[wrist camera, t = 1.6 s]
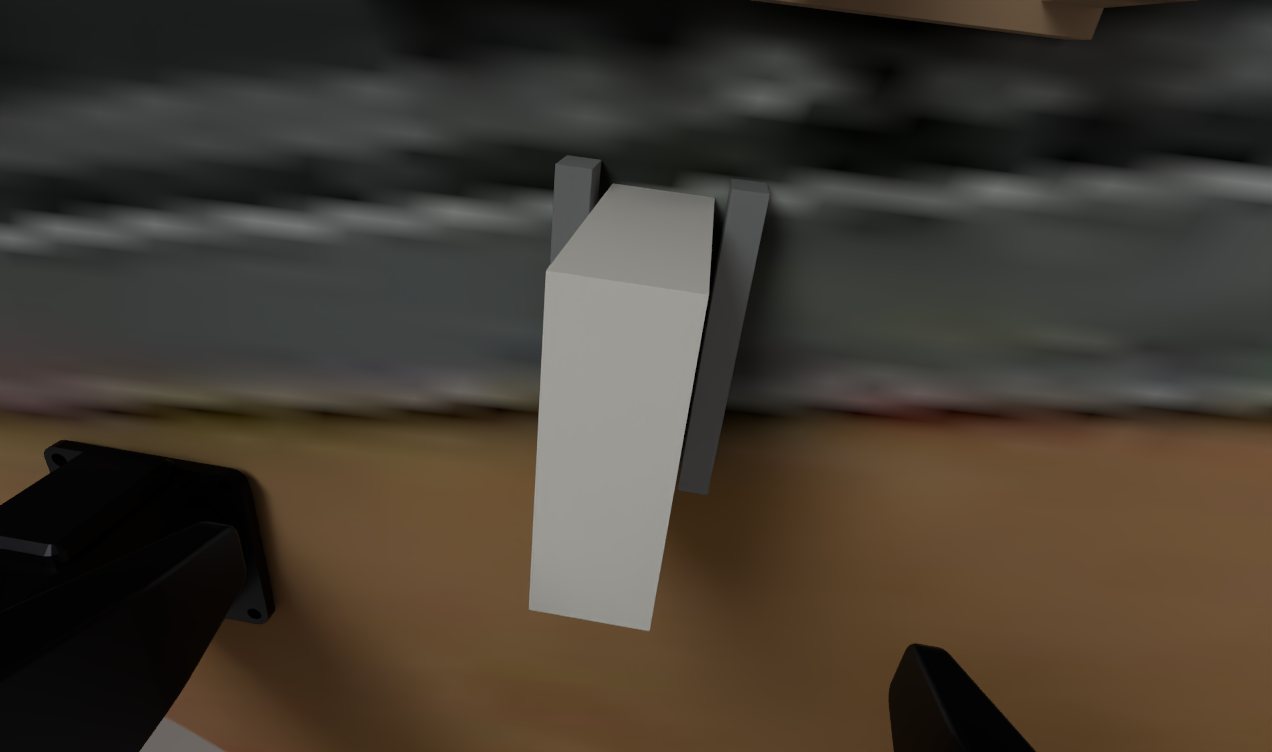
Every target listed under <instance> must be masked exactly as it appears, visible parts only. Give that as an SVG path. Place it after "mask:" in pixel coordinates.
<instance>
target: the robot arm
mask: <svg viewBox="0 0 1272 752" xmlns="http://www.w3.org/2000/svg"><path fill="white" fill-rule="evenodd" d="M44 457H45V460H46V463H47V465H48V468H49V471H50V474H48V475H47V476H45V477H43V478H42V479H40V480H39V481H37V482H36V483H34V484H33V485H31V486H30V487H28V488H26V489H25V490H23V491H22V492H20V493H19V494H17V495H16V496H14V497H13V498H11V499H9V500H8V501H6V502H5V503H3V504H2V505H0V752H139V751H140V750H141V749H142V747H143V746H144V744H145V743H146V742H147V740H148V739H149V737H150V736H151V735H152V733H153V732H154V730H155V729H156V727H157V726H158V725H159V723H160V722H161V721H162V719H163V718H164V716H165V715H166V714H167V712H168V711H169V709H170V708H171V706H172V705H173V703H174V702H175V700H176V699H177V697H178V696H179V695H180V693H181V691H182V690H183V688H184V687H185V685H186V683H187V682H188V680H189V678H190V677H191V675H192V673H193V672H194V670H195V668H196V667H197V665H198V663H199V661H200V660H201V658H202V656H203V655H204V653H205V651H206V649H207V648H208V646H209V644H210V643H211V641H212V639H213V637H214V636H215V634H216V632H217V631H218V629H219V627H220V625H221V624H222V622H223V620H224V619H225V618H227V619H233V620H238V621H243V622H249V623H254V624H263V623H266V622H267V620H268V619H269V618H270V617H271V615H272V614H273V613H274V612H275V605H274V600H273V596H272V591H271V586H270V581H269V576H268V571H267V566H266V561H265V557H264V552H263V547H262V542H261V537H260V532H259V527H258V522H257V518H256V513H255V508H254V503H253V498H252V493H251V488H250V484H249V481H248V479H247V478H246V477H245V475H244V474H242V473H241V472H239V471H238V470H235V469H232V468H226V467H220V466H215V465H209V464H203V463H197V462H191V461H185V460H179V459H173V458H168V457H162V456H156V455H150V454H144V453H138V452H132V451H127V450H121V449H115V448H109V447H103V446H97V445H91V444H85V443H80V442H74V441H68V440H60V441H58V442H57V443H55V444H53V445H52V446H50V447H48V448H47V449H45V451H44ZM889 711H890V721H891V730H892V739H893V749H894V752H1036V751H1035V750H1034V749H1033V748H1032V747H1031V745H1030V744H1029V743H1028V742H1027V741H1026V740H1025V739H1024V738H1023V736H1022V735H1021V734H1020V733H1019V732H1018V731H1017V730H1016V729H1015V727H1014V726H1013V725H1012V724H1011V723H1010V722H1009V721H1008V719H1007V718H1006V717H1005V716H1004V715H1003V714H1002V713H1001V712H1000V710H999V709H998V708H997V707H996V706H995V705H994V704H993V703H992V701H991V700H990V699H989V698H988V697H987V696H986V695H985V694H984V692H983V691H982V690H981V689H980V688H979V687H978V686H977V685H976V683H975V682H974V681H973V680H972V679H971V678H970V677H969V676H968V674H967V673H966V672H965V671H964V670H963V669H962V668H961V667H960V665H959V664H958V663H957V662H956V661H955V660H954V659H953V657H952V656H951V655H950V654H949V653H948V652H946V651H945V650H944V649H942V648H939V647H934V646H928V645H922V644H916V643H915V644H911V645H909V646H908V647H907V649H906V650H905V653H904V655H903V657H902V659H901V661H900V664H899V666H898V668H897V670H896V673H895V675H894V677H893V679H892V682H891V684H890V688H889Z"/></svg>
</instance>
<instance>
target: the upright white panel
mask: <svg viewBox="0 0 1272 752" xmlns="http://www.w3.org/2000/svg"><path fill="white" fill-rule="evenodd" d="M714 201H715V198H711V197H704V196H697V195H690V194H683V193H676V192H669V191H662V190H655V189H648V188H641V187H634V186H627V185H620V184H612V185H611V186H610V188H609V189H608V190H607V192H606V193H605V194H604V195H603V197H602V198H601V199H600V201H599V202H598V203H597V205H596V206H595V207H594V209H593V210H592V211H591V212H590V214H589V215H588V216H587V218H586V219H585V220H584V222H583V223H582V224H581V226H580V227H579V228H578V229H577V231H576V232H575V233H574V235H573V236H572V237H571V239H570V240H569V241H568V243H567V244H566V245H565V246H564V248H563V249H562V250H561V252H560V253H559V254H558V256H557V257H556V258H555V260H554V261H553V262H552V263H551V265H550V266H549V267H548V269H547V270H546V282H545V302H544V321H543V341H542V361H541V380H540V400H539V420H538V439H537V459H536V479H535V498H534V518H533V538H532V557H531V577H530V597H529V610H534V611H539V612H545V613H551V614H556V615H562V616H567V617H573V618H579V619H584V620H590V621H596V622H601V623H607V624H612V625H618V626H624V627H629V628H635V629H640V630H646V631H650V625H651V620H652V614H653V608H654V603H655V597H656V591H657V586H658V580H659V574H660V569H661V563H662V557H663V552H664V546H665V540H666V535H667V529H668V523H669V518H670V512H671V507H672V501H673V495H674V490H675V484H676V478H677V473H678V467H679V461H680V456H681V450H682V444H683V439H684V433H685V427H686V422H687V416H688V410H689V405H690V399H691V393H692V388H693V382H694V376H695V371H696V365H697V359H698V354H699V348H700V342H701V337H702V331H703V325H704V320H705V314H706V308H707V303H708V297H709V284H710V268H711V251H712V235H713V218H714Z"/></svg>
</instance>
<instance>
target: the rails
mask: <svg viewBox="0 0 1272 752" xmlns="http://www.w3.org/2000/svg"><path fill="white" fill-rule="evenodd" d="M600 172H601V160H598V159H591V158H584V157H576V156H569V155H567V156H566V157H564V158H563V159H562V160H560V161H559V162H558V163H556V164H555V182H554V201H553V219H552V238H551V257H550V265H551V263H552V262H553V261H554V260H555V258H556V257H557V256H558V254H559V253H560V252H561V250H562V249H563V248H564V246H565V245H566V244H567V243H568V241H569V240H570V239H571V237H572V236H573V235H574V233H575V232H576V231H577V229H578V228H579V227H580V226H581V224H582V223H583V222H584V220H585V219H586V218H587V216H588V215H589V214H590V212H591V211H592V210H593V209H594V207H595V206H596V205H597V203H598V195H599V184H600ZM769 196H770V193H769V190H768V186H767V183H762V182H755V181H748V180H741V179H734V178H731V184H730V189H729V195H728V201H727V206H726V212H725V218H724V223H723V229H722V234H721V240H720V246H719V251H718V257H717V263H716V268H715V274H714V279H713V285H712V291H711V296H710V302H709V307H708V313H707V319H706V324H705V330H704V336H703V341H702V347H701V352H700V358H699V364H698V369H697V375H696V381H695V386H694V392H693V397H692V403H691V409H690V414H689V420H688V425H687V431H686V437H685V442H684V448H683V454H682V459H681V465H680V475H679V484H678V490H679V491H685V492H691V493H697V494H703V495H708V490H709V486H710V481H711V476H712V471H713V466H714V462H715V457H716V452H717V447H718V442H719V437H720V433H721V428H722V423H723V418H724V413H725V408H726V404H727V399H728V394H729V389H730V384H731V380H732V375H733V370H734V365H735V360H736V355H737V351H738V346H739V341H740V336H741V331H742V326H743V322H744V317H745V312H746V307H747V302H748V298H749V293H750V288H751V283H752V278H753V273H754V269H755V264H756V259H757V254H758V249H759V244H760V240H761V235H762V230H763V225H764V220H765V216H766V211H767V206H768V201H769Z"/></svg>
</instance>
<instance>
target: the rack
mask: <svg viewBox="0 0 1272 752" xmlns="http://www.w3.org/2000/svg"><path fill="white" fill-rule="evenodd" d="M752 1H760V2H768V3H776V4H784V5H792V6H800V7H808V8H816V9H824V10H832V11H840V12H848V13H856V14H864V15H872V16H880V17H888V18H896V19H904V20H912V21H920V22H928V23H936V24H944V25H952V26H960V27H968V28H976V29H984V30H992V31H1000V32H1008V33H1016V34H1023V35H1031V36H1039V37H1047V38H1055V39H1063V40H1092V37H1093V35H1094V32H1095V30H1096V27H1097V24H1098V22H1099V19H1100V17H1101V14H1102V12H1103V9H1104V8H1108V7H1121V6H1133V5H1146V4H1159V3H1171V2H1184V1H1197V0H752Z"/></svg>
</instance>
